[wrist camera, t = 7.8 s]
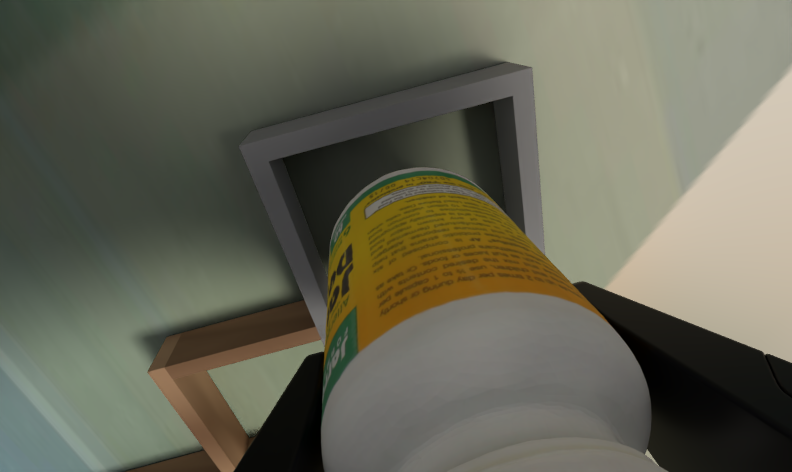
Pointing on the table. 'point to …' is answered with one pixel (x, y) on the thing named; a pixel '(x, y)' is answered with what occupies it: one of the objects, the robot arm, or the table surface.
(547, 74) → the table surface
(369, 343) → the supplement bottle
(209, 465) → the frame
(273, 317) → the frame
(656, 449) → the robot arm
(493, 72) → the frame
